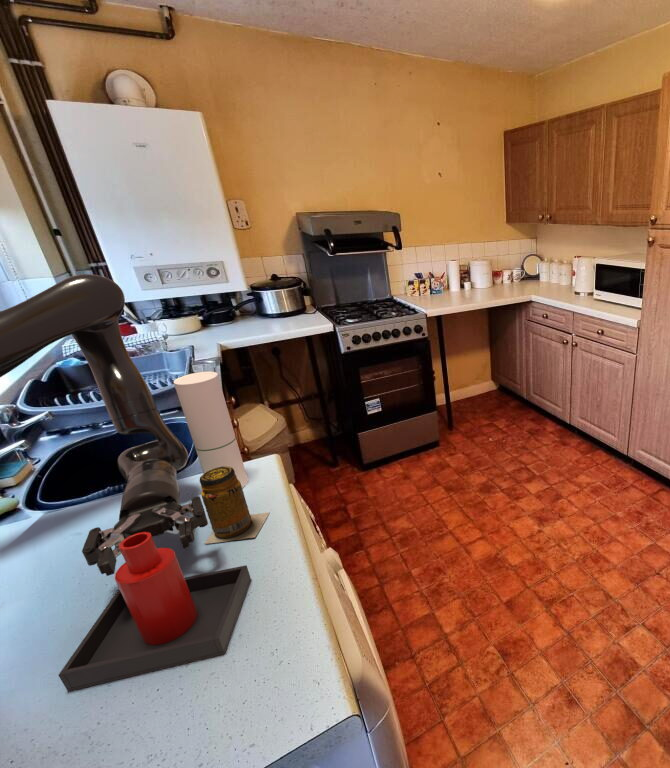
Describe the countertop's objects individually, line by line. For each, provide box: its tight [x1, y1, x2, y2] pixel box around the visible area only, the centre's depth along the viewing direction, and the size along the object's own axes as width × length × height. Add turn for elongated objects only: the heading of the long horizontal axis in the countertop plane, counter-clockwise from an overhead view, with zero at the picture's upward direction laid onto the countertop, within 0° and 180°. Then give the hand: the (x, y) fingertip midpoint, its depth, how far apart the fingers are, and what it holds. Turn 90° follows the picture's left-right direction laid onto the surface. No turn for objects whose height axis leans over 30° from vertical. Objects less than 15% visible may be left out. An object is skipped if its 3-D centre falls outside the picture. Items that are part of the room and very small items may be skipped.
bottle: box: [114, 532, 197, 645], centre depth 59 cm, size 6×6×15 cm
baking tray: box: [58, 565, 252, 692], centre depth 61 cm, size 17×13×3 cm
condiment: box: [199, 466, 270, 545], centre depth 79 cm, size 7×8×12 cm
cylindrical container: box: [173, 371, 249, 489], centre depth 89 cm, size 7×7×25 cm
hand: (147, 555), depth 61 cm, fingers open, 8 cm apart
